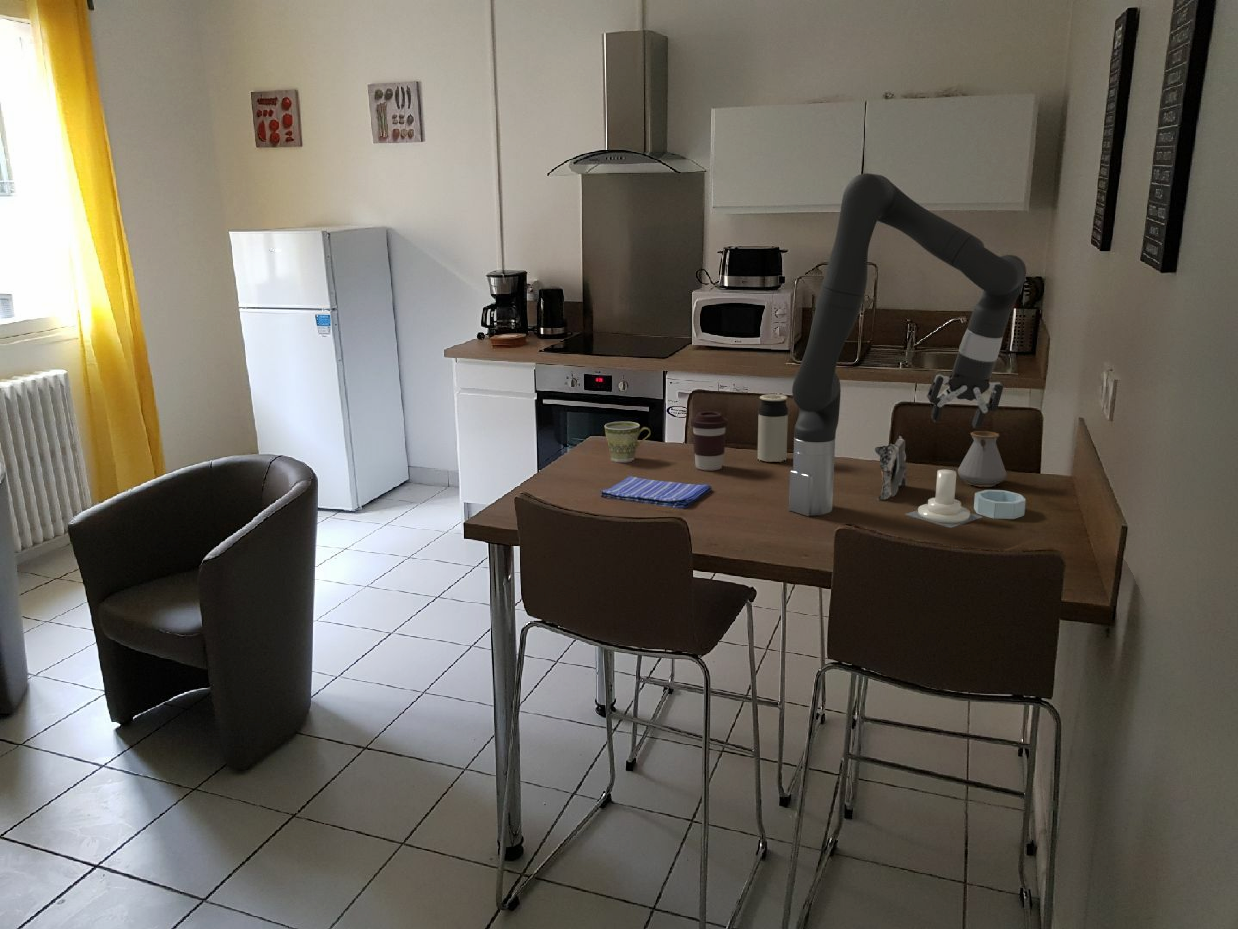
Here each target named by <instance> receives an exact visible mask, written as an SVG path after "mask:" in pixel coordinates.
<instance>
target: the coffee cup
mask: <svg viewBox="0 0 1238 929" xmlns="http://www.w3.org/2000/svg"><path fill="white" fill-rule="evenodd" d="M728 420H729V419H728V418H726V417H724V416H723V413H721V412H717V411H701V412H697V413H696V415H695V417H693V418H691V419H690V426H691V427H693V428H692V429H693V430H692V440H693V454H694V459H695V460H694V461H695V468H696V469H698V470H700V471H707V472H708V471H711V472H712V471H713V472H714V471H718V470H721V469H722V468H723V461H724V454H725V447H726V435H727V432H726V427H728V425H729V424H728V423H729V421H728Z"/></svg>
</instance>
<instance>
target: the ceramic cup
mask: <svg viewBox="0 0 1238 929" xmlns="http://www.w3.org/2000/svg"><path fill="white" fill-rule="evenodd" d="M640 427H641V425H640V424H639V423H638V422H633V421H613V422H608V423H606V424H605V425H604V432H605V438H606V441H607V444H608V450H609V455H610V461H611V462H615V463H629V462H633V461H632V460H634V461H635V457H636V451H637V449H638V447H639V446H640V445H641V444H642V443H643V442H644V441H646V439H648V438H649V437H650V436H651V433H652V432H651V429H650V428H649V427H648V426H647V427H646V426H643V427H641V428H640ZM644 430H648V432H649V433H648V435H647V436H645V437H644V438H642V439H641V441H640V442H638V438H639V437H640V434H641V433H642V432H643V431H644Z"/></svg>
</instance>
